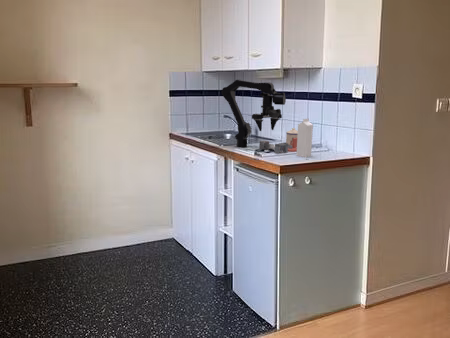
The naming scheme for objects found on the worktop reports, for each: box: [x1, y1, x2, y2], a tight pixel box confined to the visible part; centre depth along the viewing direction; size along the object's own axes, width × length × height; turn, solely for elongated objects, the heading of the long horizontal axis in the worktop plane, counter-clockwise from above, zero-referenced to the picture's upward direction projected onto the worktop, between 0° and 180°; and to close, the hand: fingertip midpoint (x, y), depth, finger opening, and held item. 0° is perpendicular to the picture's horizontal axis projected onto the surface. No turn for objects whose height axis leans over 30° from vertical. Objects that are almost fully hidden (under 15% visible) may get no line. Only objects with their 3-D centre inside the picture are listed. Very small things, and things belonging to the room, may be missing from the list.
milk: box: [296, 118, 314, 160], centre depth 256 cm, size 6×6×22 cm
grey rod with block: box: [259, 140, 282, 151], centre depth 272 cm, size 15×4×4 cm, turn 36°
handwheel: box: [288, 138, 297, 153], centre depth 274 cm, size 12×9×7 cm
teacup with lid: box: [285, 127, 298, 146], centre depth 296 cm, size 12×9×12 cm
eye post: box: [274, 142, 289, 155], centre depth 265 cm, size 2×8×5 cm, turn 126°
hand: (266, 130), depth 276 cm, fingers open, 9 cm apart
